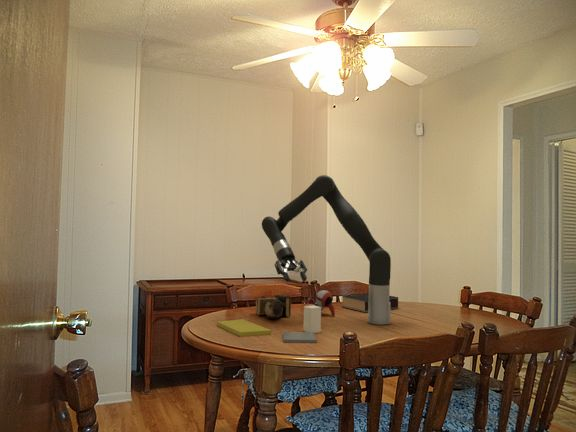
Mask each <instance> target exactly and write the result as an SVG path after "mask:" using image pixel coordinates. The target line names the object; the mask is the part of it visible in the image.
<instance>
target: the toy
mask: <svg viewBox="0 0 576 432" xmlns="http://www.w3.org/2000/svg"><path fill="white" fill-rule="evenodd" d="M333 299H334V296H333V294H332V293H331V292H330V291H328V290H325V289H322V290H319V291H318V292H317V293H316V296H315V301H314V298H311V299H309V300H307V301H305V304H307V303H308V304H309V305H308V306H313V305H314V306H318V307H321V312H322V311H323V310H324V309H325V308H329V311H330V313H331V316H332V317H335V307H334V305H333Z"/></svg>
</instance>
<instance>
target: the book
mask: <svg viewBox="0 0 576 432" xmlns="http://www.w3.org/2000/svg"><path fill="white" fill-rule="evenodd" d="M341 298H342V299H341V301H342V302H341V304H342V305H341V307H342V308H345V309H349V310H355V311H359V312H363V313H368V303H369V293H361V294H351V295H350V294H346V295H342V297H341ZM389 302H390V303H391V310H394V309H399V297H398V296H394V295H389Z"/></svg>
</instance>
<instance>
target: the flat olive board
mask: <svg viewBox="0 0 576 432" xmlns="http://www.w3.org/2000/svg"><path fill="white" fill-rule="evenodd" d="M216 326H217V327H219V328H221V329H223V330H226V331H227V332H230V333H231V334H234V335H236V336H238V337H239V338H241V337H242V338H243V337H256V336H270V335H272V330H271V329H269V328H266V327H264V326H261V325H259V324H256V323H254V322H251V321H248V320H246V319H244V318H240V319H231V320H221V321H216Z"/></svg>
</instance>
